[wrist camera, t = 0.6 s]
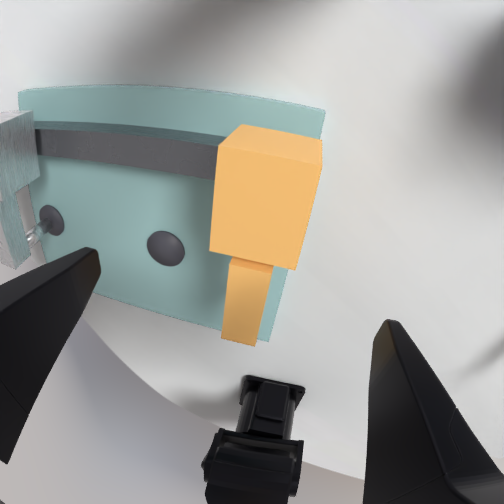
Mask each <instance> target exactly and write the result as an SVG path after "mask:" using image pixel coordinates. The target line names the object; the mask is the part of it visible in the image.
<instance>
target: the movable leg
mask: <svg viewBox="0 0 504 504" xmlns="http://www.w3.org/2000/svg"><path fill="white" fill-rule="evenodd" d="M321 170H322V140H320V139H315V138H311V137H307V136H302V135H297V134H293V133H288V132H283V131H278V130H273V129H267V128H262V127H256V126H251V125H245V124H241V125H240V126H239V127H238V128H237V129H236V130H234V131H233V132H232V133H231V134H230V135H229V136H228V137H227V138H226V139H225V140H224V141H223V142H222V143H221V144H220V145H218V154H217V164H216V175H215V185H214V197H213V209H212V221H211V234H210V248H209V251H212V252H217V253H221V254H225V255H230V256H233V257H232V259H231V262H230V264H229V271H228V280H227V289H226V298H225V307H224V316H223V325H222V334H221V338H222V339H226V340H230V341H234V342H238V343H242V344H246V345H250V346H255V344H256V340H257V336H258V332H259V328H260V324H261V320H262V315H263V311H264V307H265V302H266V298H267V294H268V289H269V285H270V281H271V276H272V272H273V267H274V266H278V267H282V268H287V269H291V270H296V266H297V263H298V259H299V255H300V252H301V248H302V244H303V241H304V237H305V233H306V229H307V226H308V222H309V218H310V214H311V210H312V206H313V202H314V198H315V194H316V190H317V186H318V182H319V178H320V174H321Z"/></svg>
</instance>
